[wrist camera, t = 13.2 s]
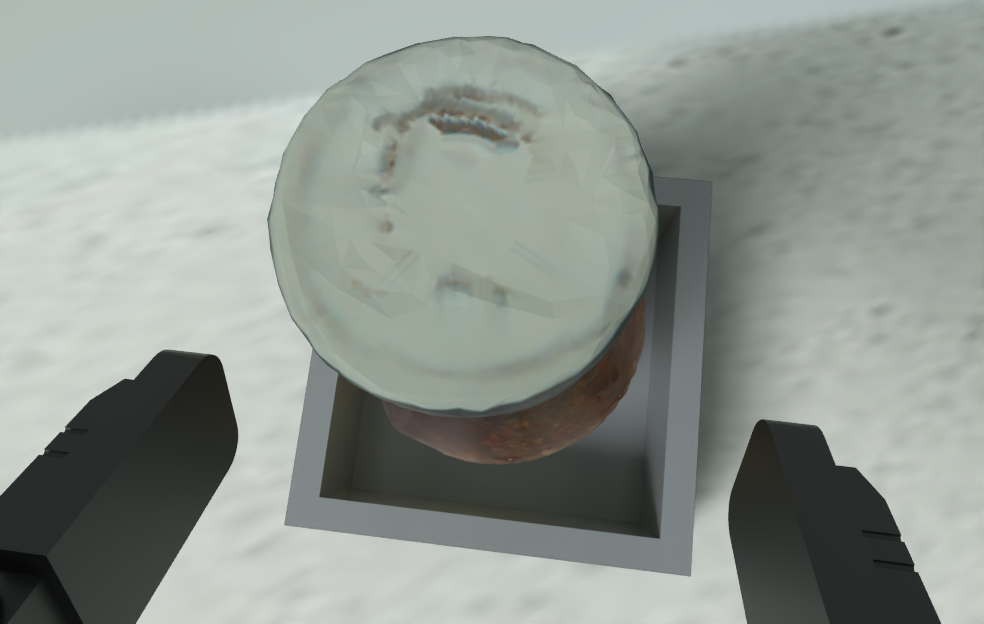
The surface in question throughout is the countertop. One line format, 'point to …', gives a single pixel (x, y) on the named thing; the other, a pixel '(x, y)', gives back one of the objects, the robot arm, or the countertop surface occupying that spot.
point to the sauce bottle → (470, 244)
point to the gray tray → (551, 479)
